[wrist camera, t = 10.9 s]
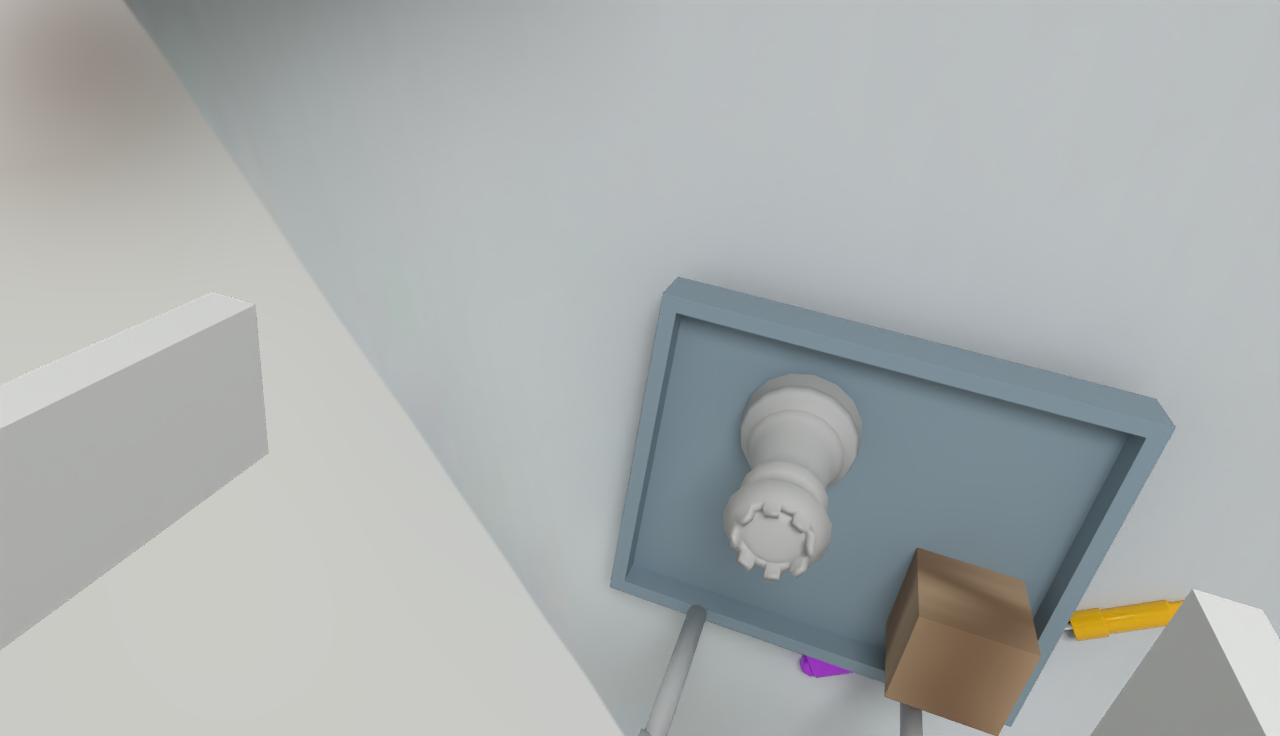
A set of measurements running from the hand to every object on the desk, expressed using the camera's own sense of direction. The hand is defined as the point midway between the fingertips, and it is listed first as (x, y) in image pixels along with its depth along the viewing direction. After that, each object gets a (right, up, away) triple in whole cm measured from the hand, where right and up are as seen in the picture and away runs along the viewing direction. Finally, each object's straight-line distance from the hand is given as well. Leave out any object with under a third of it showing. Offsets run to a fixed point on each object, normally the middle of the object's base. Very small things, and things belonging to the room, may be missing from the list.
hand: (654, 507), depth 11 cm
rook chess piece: (+6, 0, +18) cm, 19 cm away
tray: (+8, -3, +21) cm, 23 cm away
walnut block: (+12, -7, +19) cm, 24 cm away
